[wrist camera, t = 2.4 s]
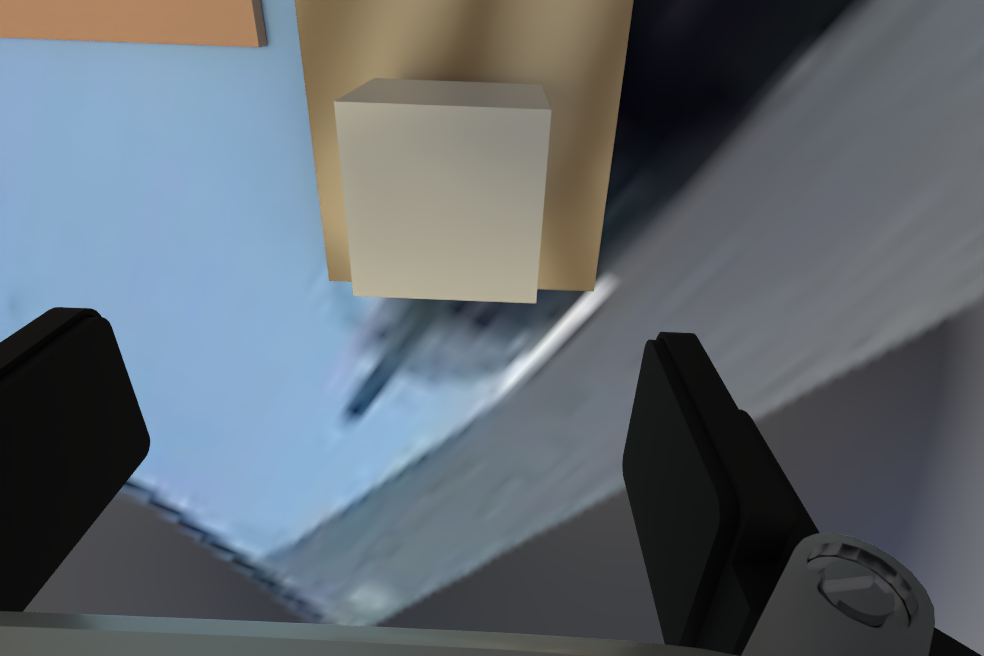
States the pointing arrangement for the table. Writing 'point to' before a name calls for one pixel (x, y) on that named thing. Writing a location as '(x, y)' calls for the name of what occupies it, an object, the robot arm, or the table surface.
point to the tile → (137, 21)
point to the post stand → (481, 58)
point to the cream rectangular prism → (444, 188)
